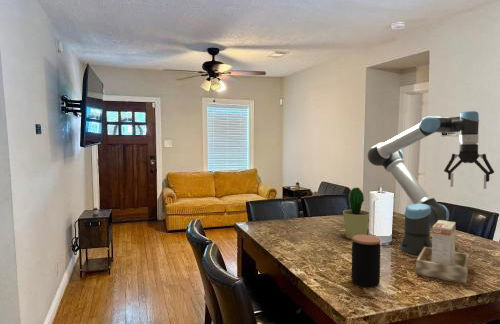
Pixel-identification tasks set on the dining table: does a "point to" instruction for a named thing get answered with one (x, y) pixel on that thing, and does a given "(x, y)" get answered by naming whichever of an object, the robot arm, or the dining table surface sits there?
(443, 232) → the coffeecake box
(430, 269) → the crate
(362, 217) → the potted cactus
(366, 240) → the coffee jar
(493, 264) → the dining table surface
